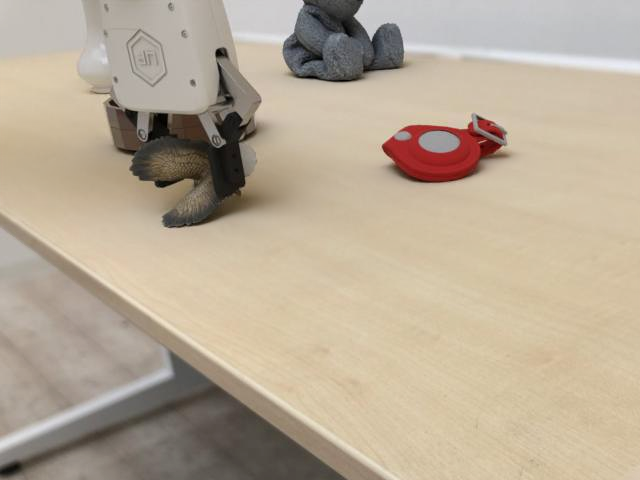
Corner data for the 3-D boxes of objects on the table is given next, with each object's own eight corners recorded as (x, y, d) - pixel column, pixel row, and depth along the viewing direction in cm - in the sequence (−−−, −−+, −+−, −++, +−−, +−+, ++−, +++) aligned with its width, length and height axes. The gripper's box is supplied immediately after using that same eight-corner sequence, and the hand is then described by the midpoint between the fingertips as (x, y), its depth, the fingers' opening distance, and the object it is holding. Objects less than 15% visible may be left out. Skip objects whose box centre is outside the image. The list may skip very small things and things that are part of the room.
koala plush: (348, 84, 120) (332, -62, 111) (260, 78, 129) (239, -57, 120) (412, 65, 133) (403, -67, 124) (328, 61, 142) (314, -62, 133)
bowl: (83, 150, 91) (71, 105, 89) (185, 119, 104) (176, 79, 102) (190, 161, 84) (180, 113, 82) (284, 126, 97) (278, 83, 95)
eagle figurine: (190, 177, 74) (114, 187, 66) (220, 112, 71) (144, 115, 63) (248, 228, 73) (178, 245, 65) (281, 165, 70) (211, 174, 62)
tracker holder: (457, 175, 70) (363, 140, 73) (455, 215, 73) (364, 180, 77) (519, 114, 78) (431, 85, 81) (514, 153, 81) (429, 124, 84)
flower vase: (60, 105, 117) (7, -88, 106) (83, 84, 134) (40, -86, 122) (151, 96, 120) (110, -93, 108) (164, 77, 136) (129, -90, 124)
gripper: (34, -38, 61) (95, 190, 69) (205, -47, 54) (251, 210, 62) (111, -44, 67) (159, 167, 75) (275, -53, 60) (308, 183, 68)
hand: (200, 185), depth 69 cm, fingers closed on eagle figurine, 6 cm apart
